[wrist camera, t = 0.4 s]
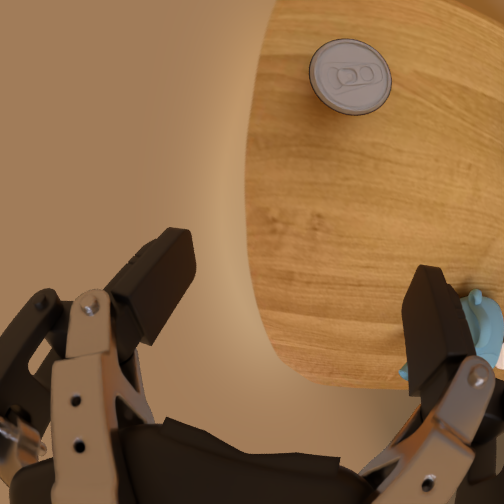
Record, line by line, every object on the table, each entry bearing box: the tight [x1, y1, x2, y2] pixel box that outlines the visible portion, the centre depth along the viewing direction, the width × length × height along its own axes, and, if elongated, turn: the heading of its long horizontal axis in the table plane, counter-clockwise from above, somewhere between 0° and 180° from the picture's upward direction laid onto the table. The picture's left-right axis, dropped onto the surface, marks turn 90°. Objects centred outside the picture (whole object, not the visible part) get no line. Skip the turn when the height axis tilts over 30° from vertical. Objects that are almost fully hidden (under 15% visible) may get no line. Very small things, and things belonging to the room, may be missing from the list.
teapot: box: [399, 289, 504, 381], centre depth 30 cm, size 20×20×13 cm
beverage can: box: [309, 39, 392, 116], centre depth 18 cm, size 6×6×12 cm
